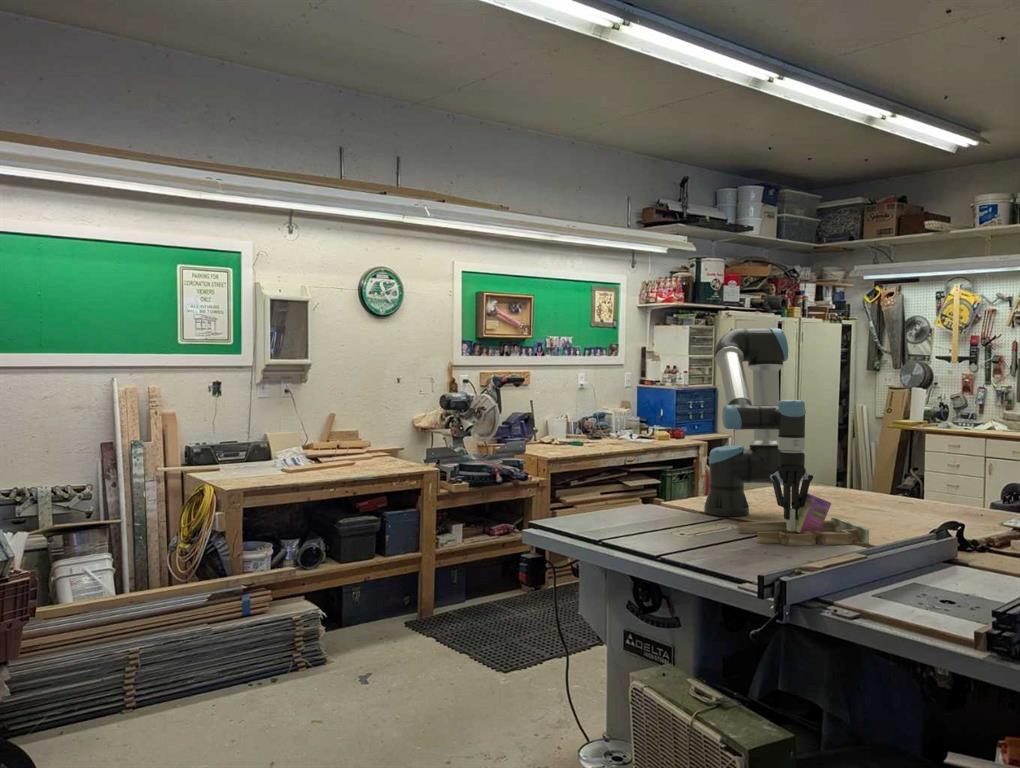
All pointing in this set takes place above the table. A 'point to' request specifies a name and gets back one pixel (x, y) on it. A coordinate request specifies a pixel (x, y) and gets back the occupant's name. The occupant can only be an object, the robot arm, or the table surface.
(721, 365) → the robot arm
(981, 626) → the table surface
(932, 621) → the table surface
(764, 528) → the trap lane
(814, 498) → the box
